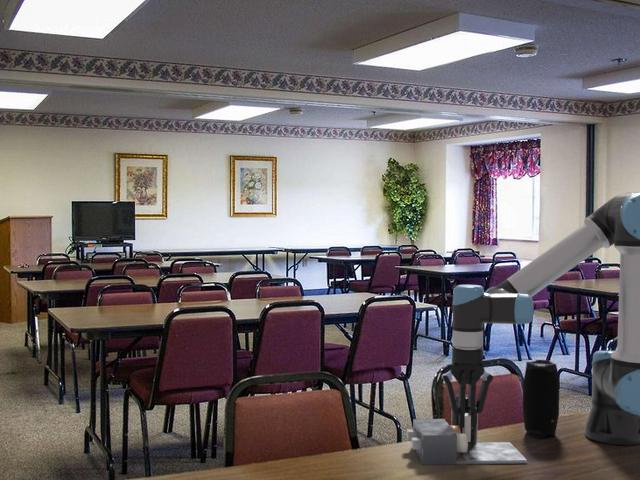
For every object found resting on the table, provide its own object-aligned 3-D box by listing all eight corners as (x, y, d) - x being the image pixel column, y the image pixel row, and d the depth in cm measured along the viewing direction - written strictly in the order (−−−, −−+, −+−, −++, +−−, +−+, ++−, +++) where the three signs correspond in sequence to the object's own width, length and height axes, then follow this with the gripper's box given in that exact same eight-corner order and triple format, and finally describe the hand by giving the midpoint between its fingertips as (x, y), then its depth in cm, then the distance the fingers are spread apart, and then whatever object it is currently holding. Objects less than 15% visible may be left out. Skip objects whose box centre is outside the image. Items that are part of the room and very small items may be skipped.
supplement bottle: (466, 447, 194) (466, 400, 193) (445, 441, 199) (445, 395, 198) (482, 442, 198) (483, 396, 198) (461, 436, 203) (462, 391, 203)
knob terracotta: (456, 440, 194) (457, 423, 193) (460, 445, 189) (461, 428, 189) (406, 441, 193) (406, 423, 193) (408, 446, 189) (409, 428, 188)
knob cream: (463, 449, 187) (463, 431, 186) (467, 454, 182) (467, 436, 182) (410, 449, 186) (410, 431, 186) (413, 455, 182) (413, 437, 181)
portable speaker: (563, 438, 201) (564, 365, 200) (528, 439, 200) (529, 365, 200) (551, 429, 210) (552, 358, 209) (517, 430, 209) (518, 359, 208)
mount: (509, 445, 196) (510, 418, 195) (527, 463, 182) (527, 434, 181) (412, 446, 194) (413, 419, 194) (422, 464, 180) (423, 435, 180)
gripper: (489, 344, 195) (487, 435, 195) (438, 344, 194) (437, 436, 195) (497, 349, 187) (496, 444, 188) (444, 349, 186) (443, 445, 187)
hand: (466, 440), depth 191 cm, fingers closed
